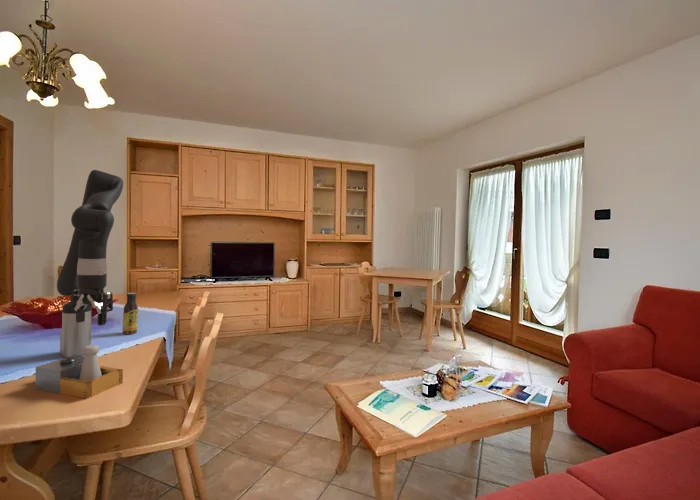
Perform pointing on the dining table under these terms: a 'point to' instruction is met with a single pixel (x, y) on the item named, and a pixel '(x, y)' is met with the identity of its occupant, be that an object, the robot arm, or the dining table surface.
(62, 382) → the wooden open box
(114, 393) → the dining table surface
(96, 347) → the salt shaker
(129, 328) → the sauce bottle
